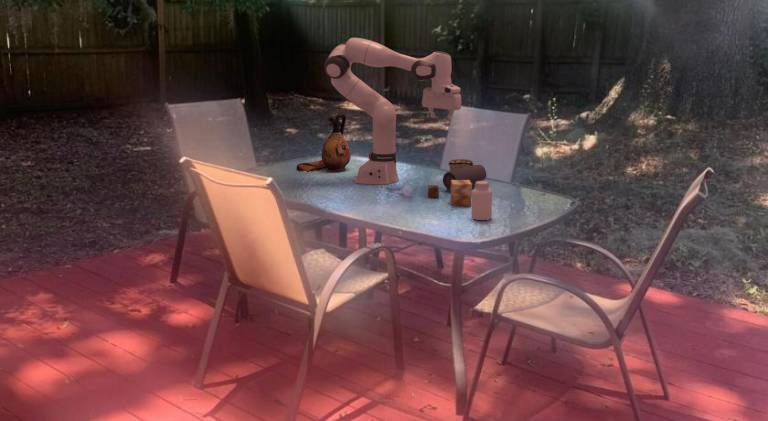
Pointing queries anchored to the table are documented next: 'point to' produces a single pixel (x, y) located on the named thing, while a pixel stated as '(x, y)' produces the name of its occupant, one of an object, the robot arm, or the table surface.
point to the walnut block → (433, 191)
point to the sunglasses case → (311, 166)
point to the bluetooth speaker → (465, 175)
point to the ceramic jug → (336, 146)
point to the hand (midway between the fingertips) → (441, 118)
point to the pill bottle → (481, 201)
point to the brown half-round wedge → (459, 163)
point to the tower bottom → (461, 201)
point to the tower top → (461, 188)
